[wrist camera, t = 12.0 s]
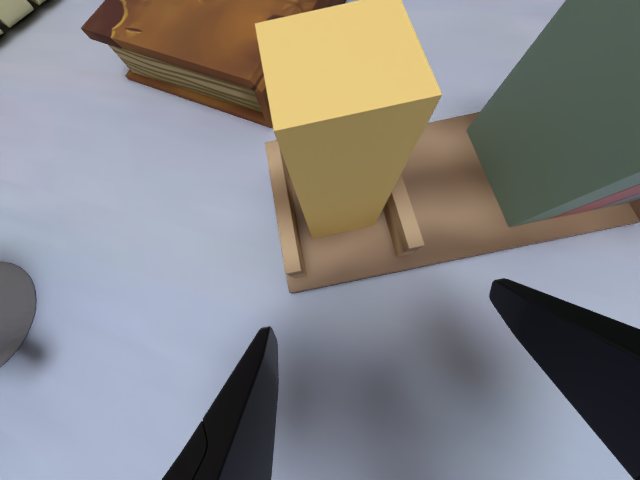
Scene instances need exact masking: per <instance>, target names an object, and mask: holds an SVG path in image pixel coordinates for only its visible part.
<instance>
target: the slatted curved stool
mask: <svg viewBox="0 0 640 480" xmlns="http://www.w3.org/2000/svg"><path fill="white" fill-rule="evenodd" d="M31 1H33V2H34V3H36V4H38V5H40V4H42V3H43V2H44V1H46V0H31ZM33 10H34V9H33V7H32V6H31V4H30V3H29V2H28V1H27V0H0V21H1V22H2V23H3V24H5V25H6V26H8V27H9V28H10V27H12V26H13V25H14V24H16V23H17V22H18V21H20V20H21V19H22V18H23V17H25V16H26V15H27V14H29V13H30V12H31V11H33ZM3 33H4V32H3V31H2V30H1V29H0V35H1V34H3Z"/></svg>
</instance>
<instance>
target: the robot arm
mask: <svg viewBox="0 0 640 480" xmlns="http://www.w3.org/2000/svg"><path fill="white" fill-rule="evenodd" d="M489 297H490V300H491V302H492V304H493V305H494V307H495V308H496V309H497V311H498V312H499V314H500V315H501V317H502V318H503V320H504V321H505V323H506V324H507V326H508V327H509V328H510V330H511V331H512V333H513V334H514V335H515V337H516V338H517V339H518V341H519V342H520V343H521V344H522V345H523V347H524V348H525V349H526V350H527V351H528V353H529V354H530V355H531V356H532V357H533V359H534V360H535V361H536V362H537V363H538V365H539V366H540V367H541V368H542V369H543V371H544V372H545V373H546V374H547V375H548V377H549V378H550V379H551V380H552V381H553V383H554V384H555V385H556V386H557V388H558V389H559V390H560V391H561V392H562V394H563V395H564V396H565V397H566V398H567V400H568V401H569V402H570V403H571V404H572V406H573V407H574V408H575V409H576V410H577V412H578V413H579V414H580V415H581V416H582V418H583V419H584V420H585V421H586V422H587V424H588V425H589V426H590V427H591V428H592V430H593V431H594V432H595V433H596V434H597V436H598V437H599V438H600V439H601V440H602V442H603V443H604V444H605V445H606V446H607V448H608V449H609V450H610V451H611V452H612V454H613V455H614V456H615V457H616V458H617V460H618V461H619V462H620V463H621V465H622V466H623V467H624V468H625V469H626V471H627V472H628V473H629V474H630V475H631V477H632V478H633V479H634V480H640V329H638V328H635V327H632V326H630V325H627V324H624V323H622V322H619V321H617V320H614V319H611V318H609V317H606V316H603V315H601V314H598V313H595V312H593V311H590V310H588V309H585V308H582V307H580V306H577V305H574V304H572V303H569V302H566V301H564V300H561V299H559V298H556V297H553V296H551V295H548V294H545V293H543V292H540V291H538V290H535V289H532V288H530V287H527V286H524V285H522V284H519V283H516V282H514V281H511V280H509V279H505V278H503V279H498V280H494V281H493V282H492V286H491V290H490V294H489ZM278 385H279V379H278V344H277V339H276V337H275V334H274V332H273V330H272V328H271V327H270V326H269V327H264V328H261V329H260V330H259V331H258V333H257V334H256V336H255V338H254V339H253V341H252V342H251V344H250V345H249V347H248V349H247V350H246V352H245V353H244V355H243V356H242V358H241V360H240V361H239V363H238V364H237V366H236V367H235V369H234V371H233V372H232V374H231V375H230V377H229V378H228V380H227V382H226V383H225V385H224V386H223V388H222V390H221V391H220V393H219V394H218V396H217V397H216V399H215V401H214V402H213V404H212V405H211V407H210V408H209V410H208V412H207V413H206V415H205V416H204V418H203V421H201V422H200V424H199V426H198V427H197V429H196V430H195V432H194V433H193V435H192V436H191V438H190V439H189V441H188V443H187V444H186V446H185V447H184V449H183V450H182V452H181V453H180V455H179V456H178V457H177V459H176V460H175V462H174V463H173V464H172V466H171V467H170V469H169V470H168V471H167V473H166V474H165V476H164V477H163V478H162V480H271V476H272V463H273V450H274V438H275V425H276V412H277V400H278Z"/></svg>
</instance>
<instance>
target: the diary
mask: <svg viewBox="0 0 640 480" xmlns="http://www.w3.org/2000/svg"><path fill="white" fill-rule="evenodd" d="M344 1H345V0H105V1H104V2H103V3H102V5H101V6H100V7H99V8H98V9H97V10H96V11H95V13H94V14H93V15H92V16H91V17H90V18H89V19H88V20H87V22H86V23H85V24H84V25H83V26H82V27H81V29H82V30H83V31H84V32H85V33H86V34H87V36H88V37H89V38H90V39H92V40H96V41H99V42H102V43H105V44H108V45H109V46H110V47H111V48H112V49H113V51H114V52H115V53H116V54H117V55H118V56H119V57H120V58H121V60H122V61H123V62H124V63H125V64H126V65H127V66H128V67H129V69H130V70H129V72H128V73H127V74H126V77H127V78H128V79H129V80H132V81H135V82H138V83H141V84H143V85H146V86H149V87H152V88H155V89H158V90H161V91H164V92H167V93H170V94H173V95H176V96H179V97H182V98H184V99H187V100H190V101H193V102H196V103H199V104H202V105H205V106H208V107H211V108H214V109H217V110H220V111H223V112H226V113H228V114H231V115H234V116H237V117H240V118H243V119H246V120H249V121H252V122H255V123H258V124H261V125H264V126H267V127H269V128H272V127H273V124H272V118H271V112H270V107H269V101H268V95H267V90H266V84H265V78H264V73H263V67H262V62H261V56H260V50H259V45H258V39H257V33H256V28H255V23H259V22H264V21H268V20H273V19H277V18H282V17H286V16H291V15H295V14H300V13H305V12H309V11H314V10H318V9H323V8H327V7H332V6H336V5H341V4H343V3H344Z"/></svg>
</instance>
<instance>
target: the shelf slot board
mask: <svg viewBox="0 0 640 480" xmlns="http://www.w3.org/2000/svg"><path fill="white" fill-rule="evenodd" d="M479 113H480V112H478V113H473V114H468V115H464V116H459V117H454V118H449V119H445V120H440V121H435V122H430V123H427V125H426V127H425V129H424V131H423V133H422V135H421V136H420V138H419V140H418V142H417V144H416V146H415V148H414V150H413V152H412V154H411V156H410V158H409V160H408V161H407V163H406V165H405V167H404V169H403V171H402V173H401V175H400V177H399V179H398V181H397V183H396V185H395V187H394V188H393V190H392V192H391V194H390V196H389V198H388V200H387V202H386V204H385V206H384V208H383V210H382V212H381V214H380V215H379V217H378V219H377V221H376V223H375V225H374V226H370V227H365V228H360V229H355V230H351V231H346V232H341V233H337V234H332V235H327V236H322V237H318V238H313V239H312V236H311V233H310V230H309V228H308V225H307V222H306V219H305V217H304V214H303V211H302V208H301V205H300V203H299V200H298V197H297V194H296V191H295V189H294V186H293V183H292V180H291V178H290V175H289V172H288V169H287V166H286V164H285V161H284V158H283V155H282V152H281V150H280V147H279V144H278V141H277V140H275V141H270V142H266V143H265V146H266V152H267V158H268V165H269V171H270V178H271V184H272V190H273V197H274V203H275V210H276V216H277V222H278V229H279V235H280V241H281V248H282V254H283V261H284V267H285V273H286V275H287V281H288V288H289V293H298V292H303V291H307V290H312V289H317V288H322V287H327V286H332V285H337V284H342V283H346V282H351V281H356V280H361V279H366V278H371V277H376V276H381V275H386V274H390V273H395V272H400V271H405V270H410V269H415V268H420V267H425V266H429V265H434V264H439V263H444V262H449V261H454V260H459V259H464V258H468V257H473V256H478V255H483V254H488V253H493V252H498V251H503V250H508V249H512V248H517V247H522V246H527V245H532V244H537V243H542V242H547V241H551V240H556V239H561V238H566V237H571V236H576V235H581V234H586V233H591V232H595V231H600V230H605V229H610V228H615V227H620V226H625V225H630V224H634V223H638V222H640V199H638V200H635V201H632V202H629V203H625V204H620V205H615V206H610V207H605V208H601V209H596V210H590V211H586V212H581V213H576V214H571V215H566V216H562V217H557V218H552V219H547V220H542V221H537V222H532V223H528V224H523V225H518V226H513V227H508V224H507V222H506V220H505V218H504V215H503V213H502V211H501V208H500V206H499V204H498V202H497V199H496V197H495V195H494V192H493V190H492V188H491V186H490V183H489V181H488V179H487V177H486V174H485V172H484V170H483V167H482V165H481V163H480V161H479V158H478V156H477V154H476V151H475V149H474V147H473V145H472V142H471V140H470V138H469V135H468V133H467V131H466V130H467V129H468V127H469V126H470V125H471V123H472V122H473V121H474V119H475V118H476V117H477V116H478V114H479Z"/></svg>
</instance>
